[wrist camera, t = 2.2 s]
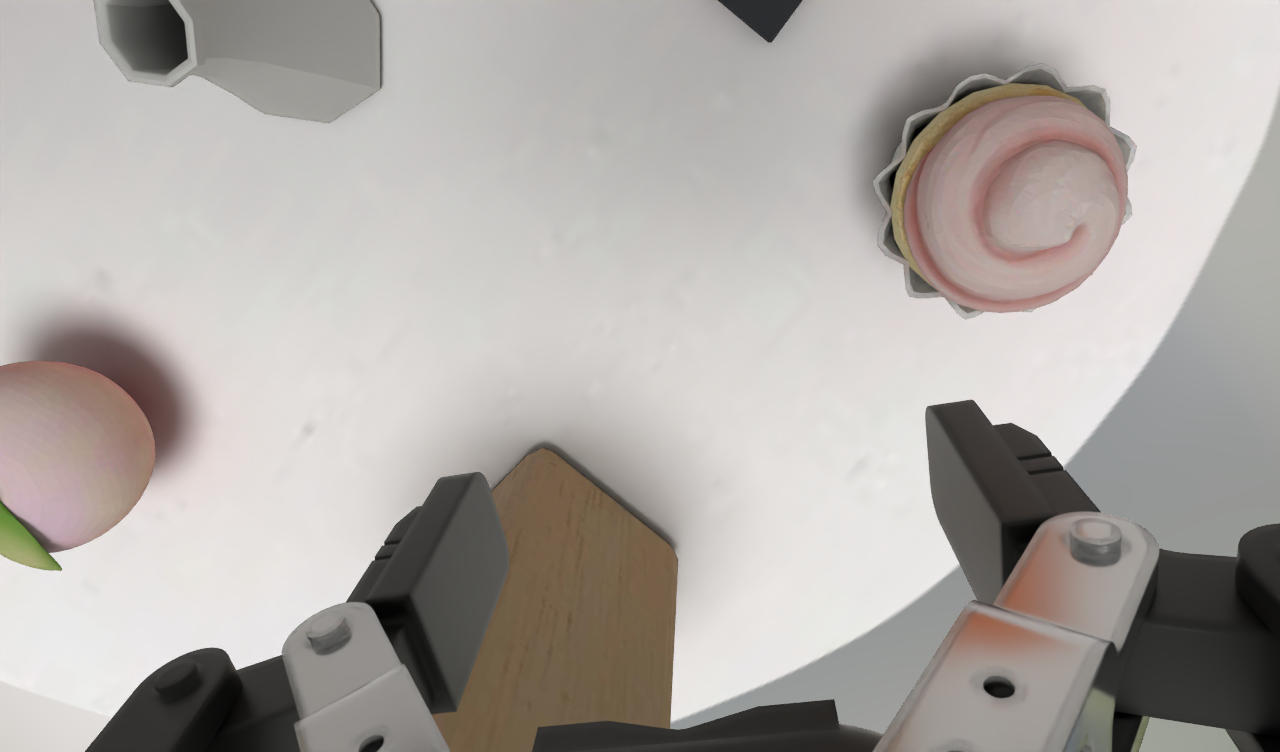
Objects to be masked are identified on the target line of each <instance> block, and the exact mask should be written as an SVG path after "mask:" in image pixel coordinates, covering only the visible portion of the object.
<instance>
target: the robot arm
mask: <svg viewBox="0 0 1280 752" xmlns="http://www.w3.org/2000/svg"><path fill="white" fill-rule="evenodd" d="M925 419H926V433H927V447H928V460H929V473H930V485H931V493H932V498H933V503H934V507H935V511H936V514H937V517H938V520H939V522H940V524H941V526H942V528H943V530H944V532H945V534H946V536H947V539H948V541H949V543H950V545H951V547H952V549H953V551H954V553H955V555H956V557H957V559H958V561H959V563H960V565H961V567H962V569H963V572H964V574H965V576H966V578H967V580H968V582H969V584H970V586H971V588H972V590H973V592H974V594H975V596H976V598H977V600H978V601H976V600H973V601H971V602H969V603H968V604H967V605H966V606H965V608H964V609H963V611H962V612H961V614H960V615H959V617H958V618H957V620H956V621H955V623H954V625H953V626H952V628H951V629H950V631H949V632H948V634H947V636H946V637H945V639H944V640H943V642H942V643H941V645H940V647H939V648H938V650H937V651H936V653H935V655H934V656H933V657H932V659H931V661H930V663H929V664H928V665H927V667H926V668H925V670H924V672H923V673H922V675H921V676H920V678H919V680H918V681H917V683H916V684H915V686H914V687H913V689H912V690H911V692H910V694H909V695H908V697H907V698H906V700H905V701H904V703H903V705H902V706H901V708H900V709H899V711H898V712H897V714H896V716H895V717H894V719H893V720H892V722H891V723H890V725H889V727H888V728H887V730H886V731H885V733H884V734H880V733H878V732H875V731H871V730H867V729H863V728H858V727H855V726H849V725H842V724H839V722H838V717H837V711H836V707H835V701H834V699H833V700H823V701H812V702H801V703H790V704H780V705H769V706H758V707H755V708H752V709H749V710H746V711H742V712H739V713H736V714H732V715H729V716H726V717H723V718H720V719H716V720H713V721H710V722H707V723H703V724H700V725H697V726H694V727H691V728H687V729H681V730H675V729H666V728H659V727H651V726H644V725H636V724H629V723H621V722H614V721H598V722H587V723H577V724H566V725H555V726H545V727H538V729H537V733H536V737H535V741H534V745H533V749H532V752H1139V749H1140V746H1141V743H1142V740H1143V737H1144V734H1145V731H1146V728H1147V725H1148V722H1149V717H1154V718H1160V719H1167V720H1174V721H1180V722H1185V723H1192V724H1198V725H1204V726H1211V727H1217V728H1223V729H1226V731H1227V733H1228V734H1229V736H1230V738H1231V739H1232V741H1233V742H1234V744H1235V745H1236V747H1237V748H1238V750H1239V751H1240V752H1280V524H1271V525H1265V526H1261V527H1257V528H1255V529H1253V530H1250V531H1249V532H1247V533H1246V534H1245V535H1244V536H1243V537H1242V538H1241V539H1240V542H1239V545H1238V554H1237V557H1227V556H1213V555H1201V554H1188V553H1179V552H1172V551H1167V550H1163V549H1159V545H1158V543H1157V541H1156V539H1155V538H1154V537H1153V535H1152V534H1151V533H1149V532H1148V531H1147V530H1146V529H1145V528H1143V527H1142V526H1140V525H1138V524H1137V523H1134V522H1132V521H1130V520H1128V519H1125V518H1122V517H1119V516H1115V515H1111V514H1106V513H1101V512H1100V511H1099V509H1098V508H1097V507H1096V506H1095V504H1094V503H1093V502H1092V501H1091V500H1090V499H1089V497H1088V496H1087V495H1086V494H1085V493H1084V491H1083V490H1082V489H1081V488H1080V487H1079V485H1078V484H1077V483H1076V482H1075V481H1074V480H1073V478H1072V477H1071V476H1070V475H1069V474H1068V472H1067V471H1066V470H1065V471H1064V470H1063V466H1062V465H1061V464H1060V463H1059V462H1058V460H1057V459H1056V458H1055V457H1054V456H1052V455H1051V452H1050V451H1049V450H1048V448H1047V447H1046V446H1045V445H1044V444H1043V442H1042V441H1041V440H1040V439H1039V438H1038V436H1036V435H1034V434H1032V433H1030V432H1028V431H1026V430H1024V429H1022V428H1020V427H1018V426H1017V425H1015V424H1013V423H1007V424H1000V425H992V424H991V423H990V421H989V420H988V419H987V417H986V416H985V415H984V413H983V412H982V411H981V409H980V408H979V407H978V405H977V404H976V403H975V401H973V400H966V401H960V402H953V403H946V404H939V405H933V406H928V407H927V408H926V414H925ZM384 543H385V546H382V547H381V548H380V550H379V551H378V553H377V554H376V556H375V561H372V562H371V564H370V565H369V567H368V569H367V570H366V572H365V573H364V575H363V576H362V578H361V579H360V581H359V583H358V584H357V586H356V587H355V589H354V590H353V592H352V593H351V595H350V597H349V598H348V600H347V601H346V603H342V604H338V605H335V606H332V607H329V608H327V609H324V610H322V611H320V612H318V613H316V614H315V615H313V616H311V617H310V618H308V619H307V620H305V621H304V622H303V623H301V624H300V625H299V626H298V627H297V628H296V629H295V630H294V631H293V632H292V633H291V634H290V635H289V637H288V638H287V640H286V641H285V643H284V645H283V649H282V655H280V656H277V657H274V658H272V659H269V660H266V661H263V662H260V663H257V664H254V665H251V666H248V667H245V668H242V669H239V670H236V669H235V667H234V665H233V663H232V662H231V660H230V658H229V656H228V654H227V653H226V652H225V651H224V650H222V649H219V648H204V649H200V650H196V651H193V652H189V653H187V654H184V655H182V656H180V657H178V658H176V659H174V660H172V661H170V662H168V663H167V664H165V665H163V666H162V667H160V668H159V669H157V670H156V671H155V672H153V673H152V674H151V675H150V676H148V677H147V678H146V679H145V680H144V681H143V682H142V683H141V684H140V685H139V686H138V687H137V688H136V690H135V691H134V692H133V693H132V695H131V696H130V697H129V698H128V699H127V701H126V702H125V703H124V704H123V706H122V707H121V708H120V709H119V710H118V712H117V713H116V714H115V715H114V717H113V718H112V719H111V720H110V721H109V723H108V724H107V725H106V727H105V728H104V729H103V730H102V731H101V732H100V734H99V735H98V736H97V737H96V739H95V740H94V741H93V742H92V743H91V745H90V746H89V747H88V748H87V750H86V751H85V752H451V751H450V749H449V748H448V746H447V744H446V742H445V740H444V738H443V736H442V734H441V732H440V730H439V729H438V727H437V725H436V723H435V721H434V719H433V717H432V715H431V714H439V713H449V712H457V709H458V706H459V703H460V701H461V698H462V695H463V693H464V690H465V687H466V685H467V682H468V679H469V677H470V674H471V671H472V669H473V666H474V663H475V660H476V658H477V655H478V652H479V650H480V647H481V644H482V642H483V639H484V636H485V634H486V631H487V628H488V626H489V623H490V620H491V618H492V615H493V612H494V609H495V607H496V604H497V601H498V599H499V596H500V593H501V591H502V588H503V585H504V583H505V580H506V577H507V574H508V570H509V550H508V544H507V540H506V537H505V534H504V531H503V528H502V525H501V522H500V519H499V516H498V513H497V509H496V506H495V503H494V500H493V497H492V494H491V491H490V488H489V485H488V483H487V480H486V478H485V477H484V475H483V474H482V473H480V472H475V473H468V474H461V475H454V476H448V477H442V478H440V479H439V480H438V481H437V483H436V484H435V486H434V488H433V489H432V491H431V492H430V494H429V496H428V497H427V499H426V501H425V502H424V504H423V506H419V507H416V508H415V509H413V510H412V511H411V512H410V513H409V514H407V515H406V516H405V517H404V518H403V519H402V520H400V521H399V522H398V523H397V524H396V525H395V526H394V528H393V530H392V531H391V533H390V534H389V536H388V537H387V539H386V540H385V542H384Z"/></svg>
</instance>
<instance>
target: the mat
mask: <svg viewBox="0 0 1280 752" xmlns="http://www.w3.org/2000/svg"><path fill="white" fill-rule="evenodd" d="M718 1H719V2H721V3H722V4H723V5H724V6H725V7H727V8H728V9H729V10H730V11H731V12H733V13H734V14H735V15H736V16H737V17H739V18H740V19H741V20H742V21H743V22H745V23H746V24H747V25H748V26H749V27H751V28H752V29H753V30H754V31H756V32H757V33H758V34H759V35H760V36H762V37H763V38H764V39H765V40H766V41H768V42H772V41H773V39H774V38H775V37H776V35H777V34H778V33H779V31H780V30H781V29H782V27H783V26H784V25H785V23H786V22H787V20H788V19H789V18H790V16H791V15H792V14H793V12H794V11H795V10H796V8H797V7H798V6H799V4H800V3H801V2H802V0H718Z"/></svg>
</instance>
